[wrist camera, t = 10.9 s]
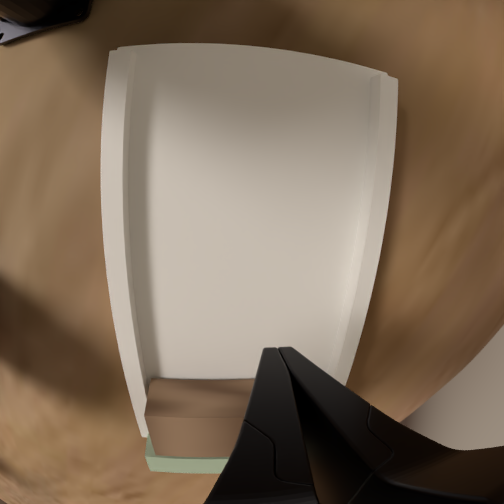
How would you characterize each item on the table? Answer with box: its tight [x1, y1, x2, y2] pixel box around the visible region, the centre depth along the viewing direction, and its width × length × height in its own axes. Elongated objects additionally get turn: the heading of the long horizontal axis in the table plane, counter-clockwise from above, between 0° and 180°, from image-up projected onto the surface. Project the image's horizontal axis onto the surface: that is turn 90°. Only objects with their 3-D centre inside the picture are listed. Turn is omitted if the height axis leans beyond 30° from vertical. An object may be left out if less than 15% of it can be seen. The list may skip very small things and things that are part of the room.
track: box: [101, 43, 398, 473], centre depth 14 cm, size 13×24×4 cm, turn 176°
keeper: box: [144, 378, 255, 457], centre depth 16 cm, size 10×4×3 cm, turn 86°
